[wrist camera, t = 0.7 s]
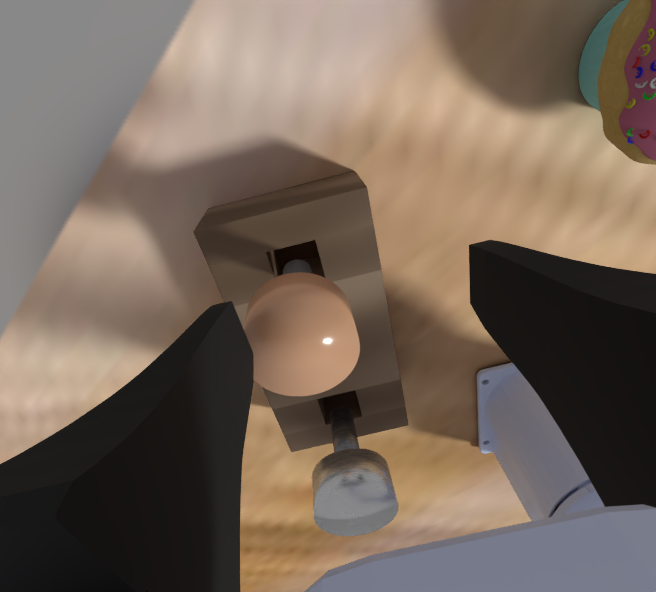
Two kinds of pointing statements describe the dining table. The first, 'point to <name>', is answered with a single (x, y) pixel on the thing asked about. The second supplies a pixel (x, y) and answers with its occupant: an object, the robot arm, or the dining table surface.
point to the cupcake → (624, 77)
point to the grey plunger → (351, 484)
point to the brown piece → (332, 263)
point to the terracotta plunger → (301, 333)
